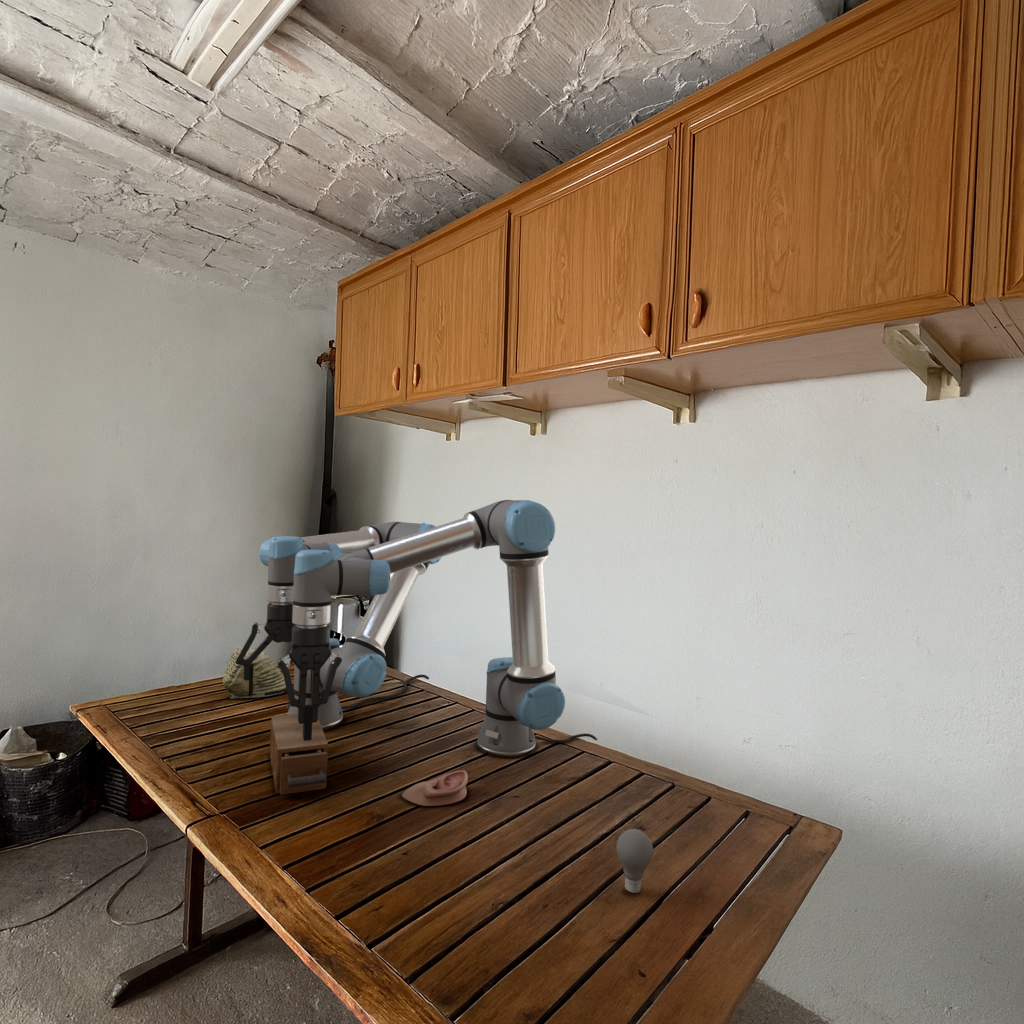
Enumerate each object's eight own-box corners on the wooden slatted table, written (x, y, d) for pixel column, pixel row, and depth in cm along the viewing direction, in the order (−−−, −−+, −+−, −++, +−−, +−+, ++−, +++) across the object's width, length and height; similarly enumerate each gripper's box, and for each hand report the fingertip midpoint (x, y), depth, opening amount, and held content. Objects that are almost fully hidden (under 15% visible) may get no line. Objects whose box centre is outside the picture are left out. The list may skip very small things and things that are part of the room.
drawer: (329, 800, 131) (331, 763, 130) (282, 807, 127) (283, 769, 127) (313, 752, 154) (315, 721, 154) (273, 757, 150) (274, 725, 150)
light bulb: (610, 879, 108) (613, 822, 108) (644, 879, 109) (647, 822, 109) (619, 902, 102) (622, 840, 102) (655, 901, 103) (658, 840, 103)
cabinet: (326, 786, 139) (328, 743, 138) (276, 793, 134) (277, 749, 134) (314, 749, 158) (315, 711, 158) (269, 754, 154) (271, 715, 154)
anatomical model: (397, 783, 132) (416, 761, 144) (396, 802, 132) (415, 779, 144) (458, 792, 130) (472, 769, 141) (457, 811, 130) (471, 786, 141)
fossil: (218, 695, 195) (220, 647, 195) (278, 685, 208) (279, 640, 207) (228, 703, 189) (230, 653, 188) (289, 692, 201) (290, 645, 201)
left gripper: (224, 606, 141) (222, 700, 142) (340, 604, 149) (337, 693, 150) (228, 600, 148) (225, 690, 149) (338, 598, 156) (335, 683, 157)
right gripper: (279, 629, 125) (274, 748, 125) (346, 627, 130) (342, 741, 130) (276, 622, 131) (272, 735, 132) (340, 620, 137) (336, 728, 137)
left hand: (281, 691), depth 149 cm, fingers open, 13 cm apart
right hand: (306, 738), depth 131 cm, fingers closed
